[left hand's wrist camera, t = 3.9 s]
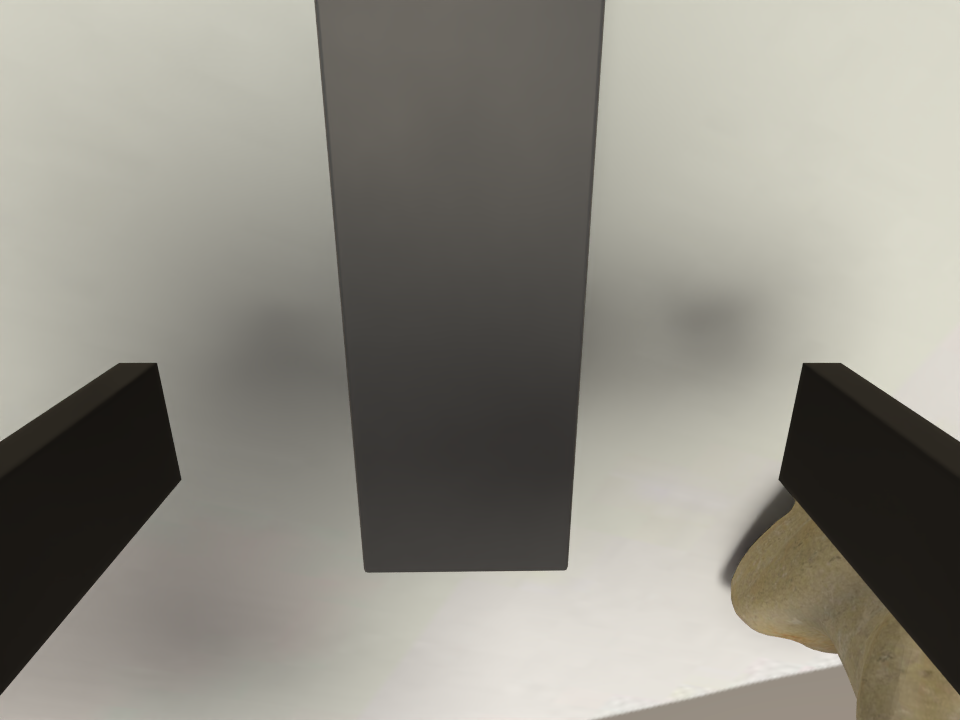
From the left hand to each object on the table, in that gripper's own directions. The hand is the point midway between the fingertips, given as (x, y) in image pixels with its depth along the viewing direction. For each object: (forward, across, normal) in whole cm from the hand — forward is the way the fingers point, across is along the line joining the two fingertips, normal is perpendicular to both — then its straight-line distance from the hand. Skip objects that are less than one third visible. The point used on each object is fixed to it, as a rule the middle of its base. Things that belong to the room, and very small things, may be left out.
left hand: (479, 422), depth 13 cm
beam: (+9, 0, -34) cm, 35 cm away
